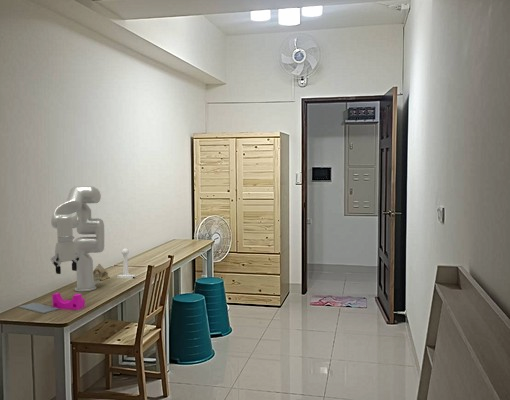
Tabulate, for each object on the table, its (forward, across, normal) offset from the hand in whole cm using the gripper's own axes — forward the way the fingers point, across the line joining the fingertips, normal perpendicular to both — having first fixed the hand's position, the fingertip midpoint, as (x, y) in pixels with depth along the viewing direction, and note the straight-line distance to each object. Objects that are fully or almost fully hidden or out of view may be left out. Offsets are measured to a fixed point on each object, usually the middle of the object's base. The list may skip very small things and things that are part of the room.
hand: (66, 272), depth 287 cm
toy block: (+19, 0, 0) cm, 19 cm away
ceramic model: (+19, -56, -44) cm, 73 cm away
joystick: (+18, -66, -30) cm, 75 cm away
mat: (+19, +10, -11) cm, 24 cm away
